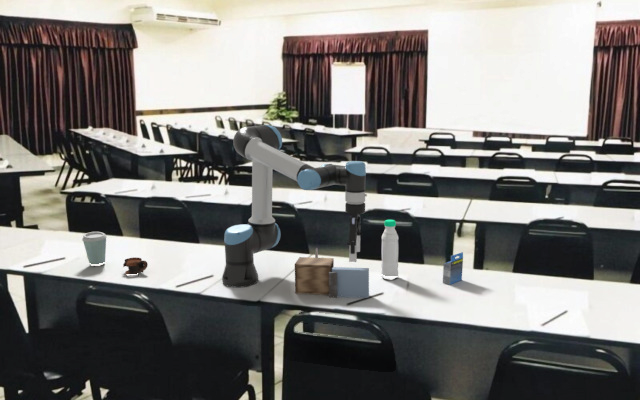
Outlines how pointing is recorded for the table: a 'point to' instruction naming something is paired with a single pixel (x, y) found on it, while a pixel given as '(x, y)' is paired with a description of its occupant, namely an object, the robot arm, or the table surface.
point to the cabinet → (315, 276)
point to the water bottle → (390, 249)
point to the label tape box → (453, 269)
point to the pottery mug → (135, 265)
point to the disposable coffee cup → (95, 246)
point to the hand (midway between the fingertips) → (354, 256)
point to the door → (352, 282)
